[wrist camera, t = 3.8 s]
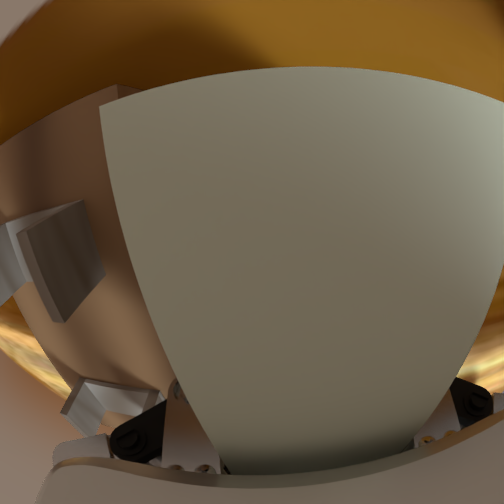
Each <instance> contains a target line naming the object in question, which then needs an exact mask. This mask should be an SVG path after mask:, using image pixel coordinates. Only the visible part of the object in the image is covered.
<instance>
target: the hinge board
mask: <svg viewBox="0 0 504 504" xmlns="http://www.w3.org/2000/svg"><path fill="white" fill-rule="evenodd" d="M142 91H143V90H141V89H137V88H133V87H128V86H124V85H120V84H115V85H112V86H110V87H107V88H105V89H102V90H100V91H97V92H95V93H92V94H90V95H88V96H86V97H83V98H81V99H79V100H77V101H75V102H73V103H71V104H69V105H67V106H65V107H63V108H61V109H59V110H57V111H55V112H53V113H51V114H49V115H48V116H46V117H44V118H42V119H40V120H39V121H37V122H35V123H34V124H32V125H30V126H29V127H27V128H25V129H24V130H22V131H21V132H19V133H18V134H16V135H15V136H13V137H12V138H10V139H9V140H7V141H6V142H4V143H3V144H2V145H0V306H1V305H2V304H3V303H4V302H5V301H6V300H7V299H9V298H10V297H11V296H12V295H13V297H14V299H15V301H16V303H17V305H18V307H19V309H20V311H21V313H22V315H23V316H24V318H25V320H26V322H27V324H28V326H29V327H30V329H31V331H32V333H33V334H34V336H35V338H36V339H37V341H38V343H39V344H40V346H41V347H42V349H43V350H44V352H45V354H46V355H47V357H48V358H49V360H50V361H51V363H52V364H53V365H54V367H55V368H56V370H57V371H58V373H59V374H60V375H61V377H62V378H63V379H64V381H65V382H66V383H67V385H68V386H69V387H70V388H71V390H72V391H71V393H70V395H69V397H68V399H67V400H66V402H65V404H64V406H63V408H62V410H61V412H60V413H61V415H62V416H63V417H64V418H65V419H66V420H67V421H68V422H69V423H70V424H71V425H72V426H73V427H74V428H75V429H77V431H79V432H80V434H82V435H83V436H84V437H85V438H86V437H91V436H95V435H96V432H97V430H98V428H99V425H100V423H101V424H102V425H105V426H109V427H113V428H117V427H118V426H119V425H121V424H123V423H125V422H126V421H128V420H130V419H132V418H134V417H136V416H137V415H139V414H141V413H143V412H145V411H146V410H148V409H150V408H152V407H153V406H155V405H157V404H159V403H160V402H162V401H164V400H166V399H167V396H168V389H169V386H170V384H171V383H172V381H173V380H174V379H175V378H176V375H175V373H174V371H173V369H172V367H171V365H170V362H169V360H168V358H167V356H166V353H165V351H164V349H163V346H162V344H161V342H160V339H159V337H158V334H157V332H156V330H155V327H154V325H153V322H152V319H151V317H150V314H149V312H148V309H147V306H146V304H145V301H144V298H143V295H142V292H141V290H140V287H139V284H138V281H137V278H136V275H135V272H134V269H133V265H132V262H131V259H130V256H129V252H128V249H127V246H126V242H125V238H124V235H123V231H122V227H121V224H120V220H119V216H118V212H117V208H116V203H115V199H114V195H113V190H112V185H111V181H110V176H109V170H108V165H107V160H106V154H105V148H104V141H103V134H102V127H101V119H100V110H99V106H101V105H104V104H107V103H109V102H112V101H115V100H118V99H121V98H123V97H126V96H130V95H133V94H136V93H139V92H142Z"/></svg>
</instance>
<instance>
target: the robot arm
mask: <svg viewBox="0 0 504 504" xmlns="http://www.w3.org/2000/svg"><path fill="white" fill-rule="evenodd" d="M53 466H54V467H53V468H52V469H51V470H50V472H49V473H48V475H47V477H46V478H45V480H44V482H43V484H42V486H41V489H40V491H39V493H38V496H37V498H36V501H35V504H504V393H493V394H492V395H490V393H489V392H488V391H487V390H486V389H485V388H483V387H481V386H478V385H475V384H473V383H470V382H468V381H465V380H462V379H460V378H457V377H455V379H454V380H453V382H452V384H451V385H450V387H449V389H448V390H447V392H446V393H445V395H444V396H443V398H442V400H441V401H440V403H439V404H438V405H437V407H436V408H435V410H434V411H433V413H432V414H431V415H430V417H429V418H428V420H427V421H426V422H425V424H424V425H423V426H422V427H421V429H420V430H419V431H418V433H417V434H416V435H415V436H414V438H413V439H412V440H411V441H410V442H409V444H408V445H407V446H406V447H405V448H404V449H403V451H402V452H401V453H400V454H396V455H393V456H389V457H386V458H382V459H378V460H374V461H370V462H366V463H362V464H357V465H352V466H347V467H342V468H336V469H329V470H323V471H315V472H306V473H295V474H281V475H232V474H231V473H230V471H229V470H228V468H227V467H226V465H225V464H224V462H223V461H222V459H221V457H220V456H219V454H218V453H217V451H216V449H215V448H214V446H213V445H212V443H211V441H210V439H209V438H208V436H207V434H206V433H205V431H204V429H203V427H202V426H201V424H200V422H199V420H198V418H197V417H196V415H195V413H194V411H193V409H192V407H191V405H190V404H189V402H188V400H187V398H186V396H185V394H184V392H183V390H182V388H181V386H180V384H179V382H178V380H177V377H176V378H175V379H174V380H173V381H172V383H171V384H170V386H169V389H168V396H167V399H166V400H164V401H162V402H160V403H159V404H157V405H155V406H153V407H152V408H150V409H148V410H146V411H145V412H143V413H141V414H139V415H137V416H136V417H134V418H132V419H130V420H128V421H126V422H125V423H123V424H121V425H119V426H118V427H117V428H115V430H114V431H113V432H112V434H111V435H107V434H105V433H104V434H99V435H95V436H91V437H86V438H82V439H77V440H72V441H67V442H63V443H60V444H59V445H58V446H57V447H56V448H55V449H54V451H53Z"/></svg>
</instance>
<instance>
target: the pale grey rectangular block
mask: <svg viewBox="0 0 504 504" xmlns="http://www.w3.org/2000/svg"><path fill="white" fill-rule="evenodd" d="M99 110H100V119H101V127H102V134H103V141H104V148H105V154H106V160H107V165H108V170H109V176H110V181H111V185H112V190H113V195H114V199H115V203H116V208H117V212H118V216H119V220H120V224H121V227H122V231H123V235H124V238H125V242H126V246H127V249H128V252H129V256H130V259H131V262H132V265H133V269H134V272H135V275H136V278H137V281H138V284H139V287H140V290H141V292H142V295H143V298H144V301H145V304H146V306H147V309H148V312H149V314H150V317H151V319H152V322H153V325H154V327H155V330H156V332H157V334H158V337H159V339H160V342H161V344H162V346H163V349H164V351H165V353H166V356H167V358H168V360H169V362H170V365H171V367H172V369H173V371H174V373H175V375H176V377H177V380H178V382H179V384H180V386H181V388H182V390H183V392H184V394H185V396H186V398H187V400H188V402H189V404H190V405H191V407H192V409H193V411H194V413H195V415H196V417H197V418H198V420H199V422H200V424H201V426H202V427H203V429H204V431H205V433H206V434H207V436H208V438H209V439H210V441H211V443H212V445H213V446H214V448H215V449H216V451H217V453H218V454H219V456H220V457H221V459H222V461H223V462H224V464H225V465H226V467H227V468H228V470H229V471H230V473H231V474H232V475H281V474H295V473H306V472H315V471H323V470H329V469H336V468H342V467H347V466H352V465H357V464H362V463H366V462H370V461H374V460H378V459H382V458H386V457H389V456H393V455H396V454H400V453H401V452H402V451H403V449H404V448H405V447H406V446H407V445H408V444H409V442H410V441H411V440H412V439H413V438H414V436H415V435H416V434H417V433H418V431H419V430H420V429H421V427H422V426H423V425H424V424H425V422H426V421H427V420H428V418H429V417H430V415H431V414H432V413H433V411H434V410H435V408H436V407H437V405H438V404H439V403H440V401H441V400H442V398H443V396H444V395H445V393H446V392H447V390H448V389H449V387H450V385H451V384H452V382H453V380H454V379H455V377H456V375H457V374H458V372H459V370H460V368H461V367H462V365H463V363H464V361H465V359H466V357H467V355H468V353H469V351H470V349H471V347H472V345H473V343H474V341H475V339H476V337H477V335H478V333H479V331H480V328H481V326H482V324H483V321H484V319H485V317H486V314H487V312H488V309H489V306H490V304H491V301H492V298H493V296H494V293H495V290H496V287H497V284H498V281H499V278H500V274H501V271H502V267H503V264H504V103H503V102H500V101H498V100H495V99H493V98H490V97H487V96H485V95H482V94H479V93H476V92H473V91H470V90H467V89H464V88H460V87H457V86H453V85H450V84H446V83H442V82H438V81H434V80H430V79H425V78H420V77H415V76H410V75H404V74H398V73H392V72H385V71H377V70H368V69H356V68H341V67H281V68H266V69H254V70H245V71H237V72H229V73H222V74H216V75H210V76H205V77H199V78H194V79H189V80H185V81H180V82H176V83H172V84H168V85H164V86H160V87H156V88H153V89H149V90H146V91H142V92H139V93H136V94H133V95H130V96H126V97H123V98H121V99H118V100H115V101H112V102H109V103H107V104H104V105H101V106H99Z"/></svg>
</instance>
